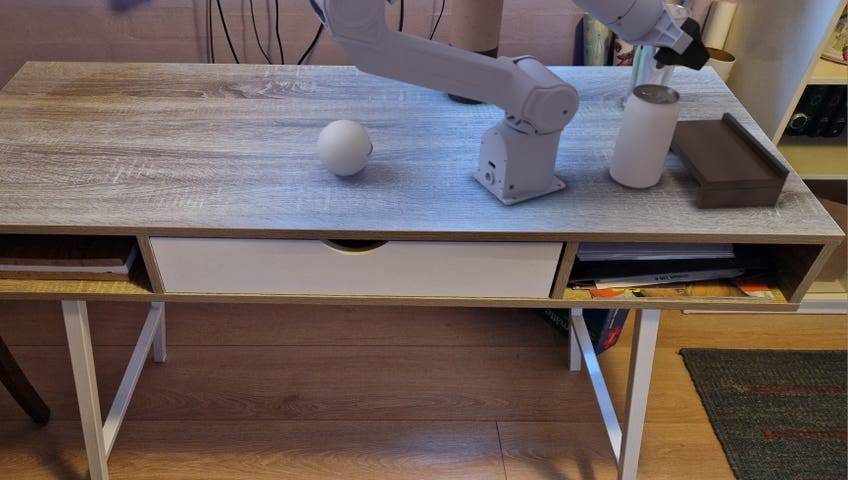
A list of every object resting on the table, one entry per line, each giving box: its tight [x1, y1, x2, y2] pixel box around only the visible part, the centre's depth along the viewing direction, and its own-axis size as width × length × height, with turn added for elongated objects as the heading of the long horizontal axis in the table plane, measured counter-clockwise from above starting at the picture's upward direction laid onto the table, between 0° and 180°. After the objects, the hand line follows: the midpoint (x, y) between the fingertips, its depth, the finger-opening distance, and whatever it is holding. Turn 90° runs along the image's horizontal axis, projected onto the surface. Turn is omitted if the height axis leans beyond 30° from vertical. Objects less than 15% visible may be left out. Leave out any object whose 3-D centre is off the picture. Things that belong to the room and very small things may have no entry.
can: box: [609, 84, 681, 190], centre depth 90 cm, size 6×6×12 cm
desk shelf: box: [668, 112, 791, 210], centre depth 93 cm, size 10×16×5 cm, turn 4°
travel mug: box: [446, 0, 504, 105], centre depth 108 cm, size 8×8×20 cm
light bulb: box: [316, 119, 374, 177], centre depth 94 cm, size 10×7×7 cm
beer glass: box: [622, 2, 693, 109], centre depth 106 cm, size 7×7×15 cm
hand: (683, 51), depth 88 cm, fingers open, 7 cm apart
